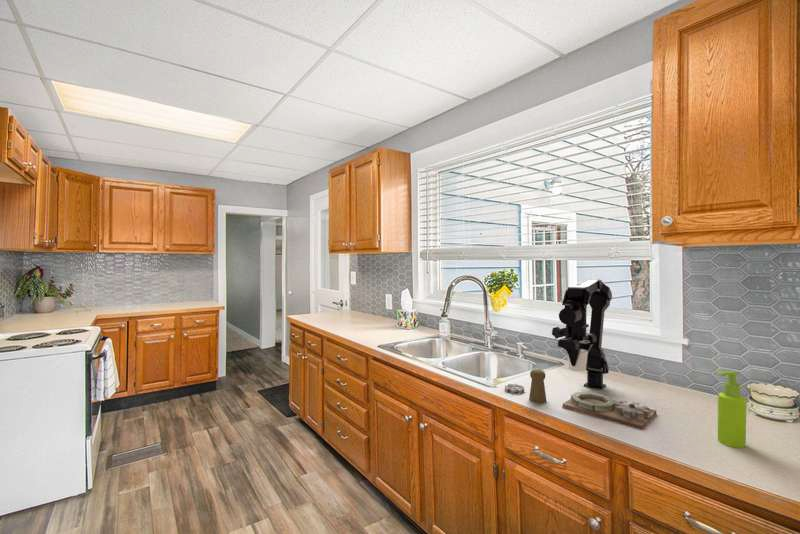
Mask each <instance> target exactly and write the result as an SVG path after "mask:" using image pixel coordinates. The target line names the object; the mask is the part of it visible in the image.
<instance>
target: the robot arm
mask: <svg viewBox="0 0 800 534" xmlns="http://www.w3.org/2000/svg"><path fill="white" fill-rule="evenodd" d="M612 295H613V293H612V290H611V288H610V287H609V286H608V285H606V284H605V283H603V281H602V279H598V278H596V279H595V278H589V279H586V281H584V282H583V283H581V284H579V285H569V286H568V287H567V289H565V292H564V296H563V299H562V303H561V305H562V306H564V308H562V309H561V310H560V311H559V313H558V319H559V321H560V322H561V323H562V324H564V325H565V327H562V328H561V327H559V326H557V327H555V326H554V327H553V328H552V331H551V335H552V336H553V337H554V339H555V340H556V339H557V347H558V348H561V349H564V350H565V351H566V352H567V353H568V355H567V357H568V356H569V359H570V362H571V365H572V366H575V365H576V363H577V360H578V357H579V354H580V351H581V349H585V350H587V351H588V355H587V365H586V382H585V383H584V384H583V387H588V388H590V389H591V388H592V389H596V390H599V391H600V390H603V389H604V388H605V387H607V384H605V383H604V375H605V374H610V373H609V371H610V370H609V363H608V361H607V359H606V354H605V352H604V349H603V348H602V345H603V343H602V342H603V331H604V323H605V322H604V321H605V312H606V310H607V309H608V308H609V306H610V305H611V301H612V300H613V296H612ZM588 305H589V306H590V308H591V314H590V325H589V323H587V311H588V310H587V308H588ZM587 328H589V332H587ZM567 353H566V354H567Z"/></svg>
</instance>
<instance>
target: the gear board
mask: <svg viewBox="0 0 800 534" xmlns="http://www.w3.org/2000/svg"><path fill="white" fill-rule="evenodd" d="M640 404H641V403H639V402H634V401H632V402H628V401H626V400H621V401H619V400H617V399H616V400H615V399H613V398H611V397H610V396H608V395H606V394H602V393H597V392H591V391H577V392H574V393H573V394H571V395H570V398H569V399H568V400H566V401H565V402H563V403H562V408H564V409H567V410H571V411H575V412H578V413H580V414H581V413H582V414H585V415H587V416H588V415H589V416H593V417H597V418H600V419H603V420H606V421H610V422H614V423H616V424H621V425H624V426H628V427H632V428H634V429H635V428H636V429H639V430H641V431H642V430H644V429H645V427H647V426H648V425H649V423H650V422H651V421H652V420H653V419H654V417H656V416H657V409H656V410H655V409H651V408H650V407H648V406H647V405H640Z"/></svg>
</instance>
